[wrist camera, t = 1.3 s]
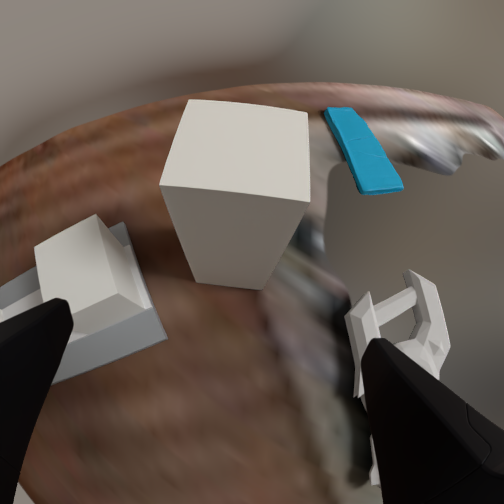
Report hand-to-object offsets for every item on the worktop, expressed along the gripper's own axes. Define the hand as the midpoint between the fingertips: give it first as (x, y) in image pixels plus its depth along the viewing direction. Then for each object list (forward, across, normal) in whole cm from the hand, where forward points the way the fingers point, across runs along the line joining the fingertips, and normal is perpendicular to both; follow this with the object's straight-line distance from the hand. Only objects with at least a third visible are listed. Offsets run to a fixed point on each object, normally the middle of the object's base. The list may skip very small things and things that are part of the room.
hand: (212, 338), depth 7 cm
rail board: (+8, +15, +10) cm, 20 cm away
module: (+14, 0, +4) cm, 15 cm away
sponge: (+24, -12, -5) cm, 28 cm away
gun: (+8, -15, +11) cm, 20 cm away
